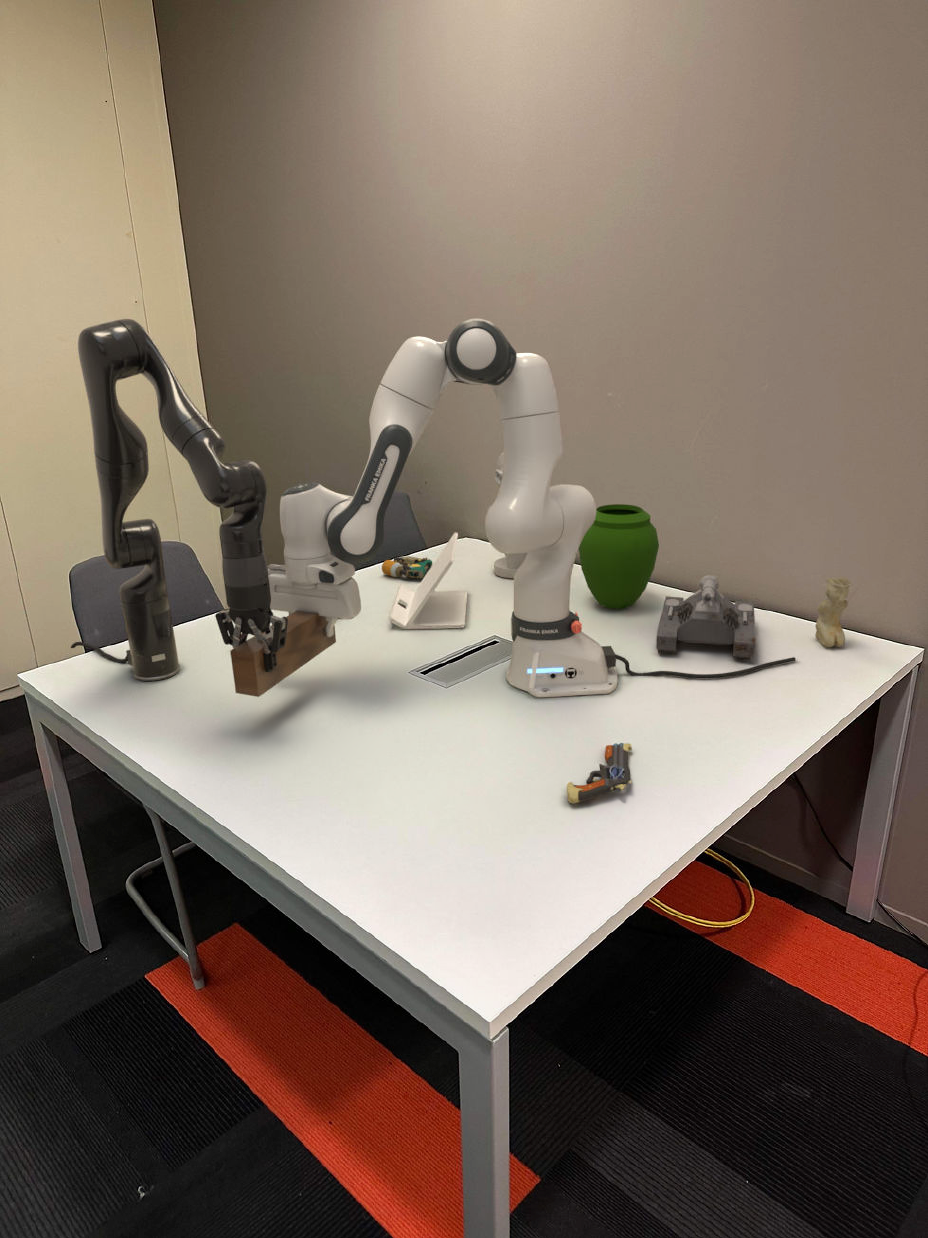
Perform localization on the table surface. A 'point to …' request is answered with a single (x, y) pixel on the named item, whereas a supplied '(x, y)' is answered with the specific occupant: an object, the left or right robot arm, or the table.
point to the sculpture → (832, 613)
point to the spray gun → (406, 566)
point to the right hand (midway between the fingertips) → (314, 634)
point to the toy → (707, 621)
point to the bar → (280, 654)
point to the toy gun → (604, 775)
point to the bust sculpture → (511, 561)
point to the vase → (619, 555)
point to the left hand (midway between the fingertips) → (257, 668)
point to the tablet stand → (431, 599)
